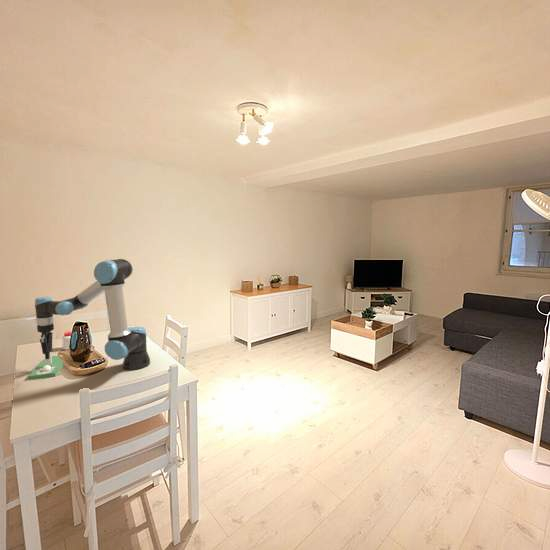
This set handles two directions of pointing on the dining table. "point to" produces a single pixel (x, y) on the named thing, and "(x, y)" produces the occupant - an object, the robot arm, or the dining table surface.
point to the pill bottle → (66, 340)
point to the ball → (46, 368)
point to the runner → (55, 368)
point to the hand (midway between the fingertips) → (48, 363)
